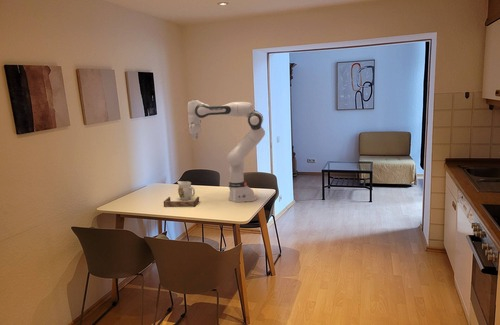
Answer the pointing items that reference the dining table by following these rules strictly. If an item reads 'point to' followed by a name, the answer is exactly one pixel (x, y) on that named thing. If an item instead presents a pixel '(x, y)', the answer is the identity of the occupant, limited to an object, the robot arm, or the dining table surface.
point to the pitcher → (185, 190)
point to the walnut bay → (180, 203)
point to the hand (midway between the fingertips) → (195, 139)
